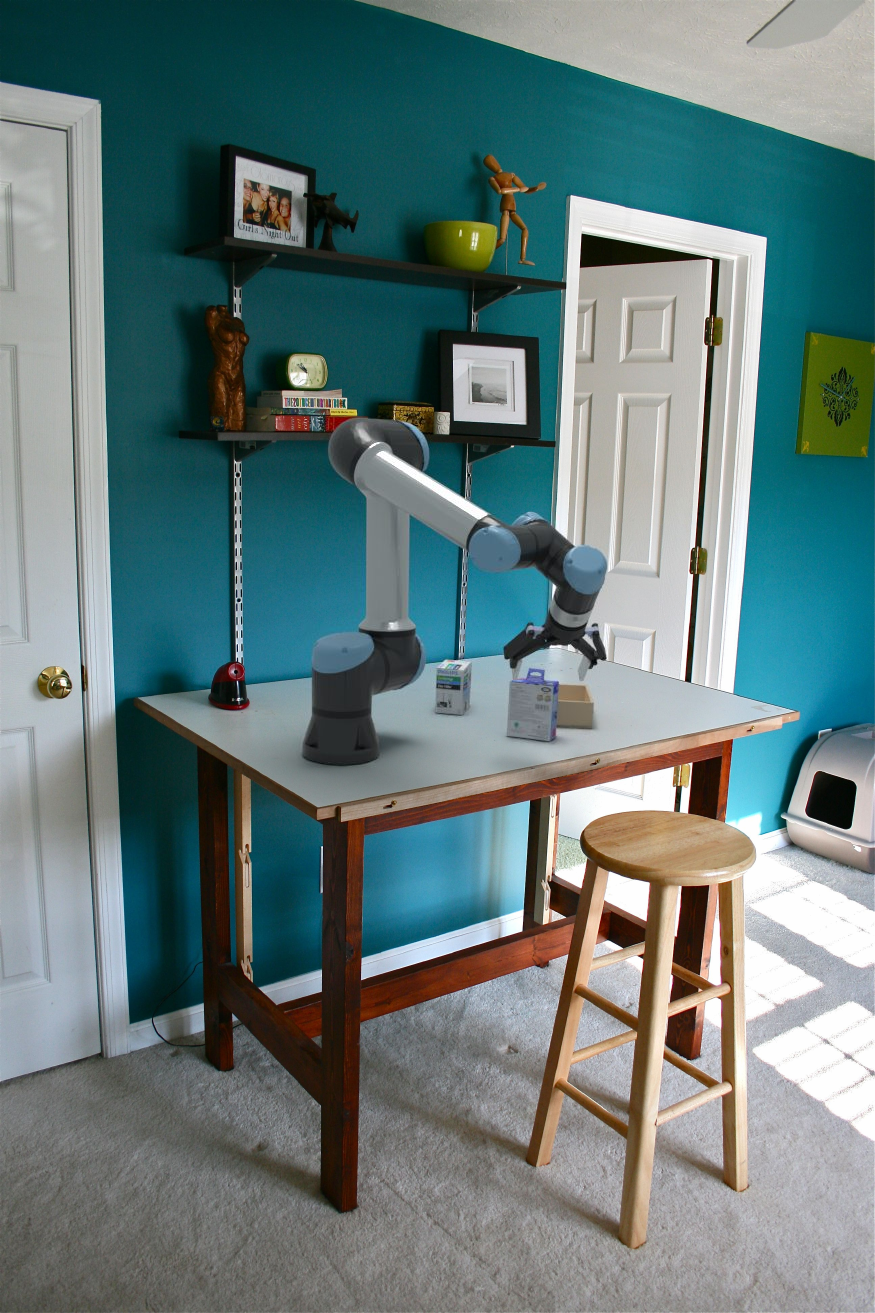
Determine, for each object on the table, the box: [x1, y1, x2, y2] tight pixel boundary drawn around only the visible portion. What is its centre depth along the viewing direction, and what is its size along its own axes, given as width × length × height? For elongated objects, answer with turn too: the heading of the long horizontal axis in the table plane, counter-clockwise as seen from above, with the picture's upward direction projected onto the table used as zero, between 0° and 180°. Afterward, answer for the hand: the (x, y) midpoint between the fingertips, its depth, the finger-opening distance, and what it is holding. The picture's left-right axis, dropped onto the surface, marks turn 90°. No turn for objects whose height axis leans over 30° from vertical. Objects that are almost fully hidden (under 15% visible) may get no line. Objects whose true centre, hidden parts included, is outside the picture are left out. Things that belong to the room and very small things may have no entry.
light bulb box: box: [434, 659, 473, 716], centre depth 232 cm, size 11×7×11 cm, turn 168°
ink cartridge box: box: [506, 667, 560, 742], centre depth 211 cm, size 10×6×14 cm, turn 71°
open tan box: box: [556, 683, 595, 730], centre depth 239 cm, size 15×39×6 cm, turn 176°
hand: (547, 675), depth 199 cm, fingers open, 13 cm apart
